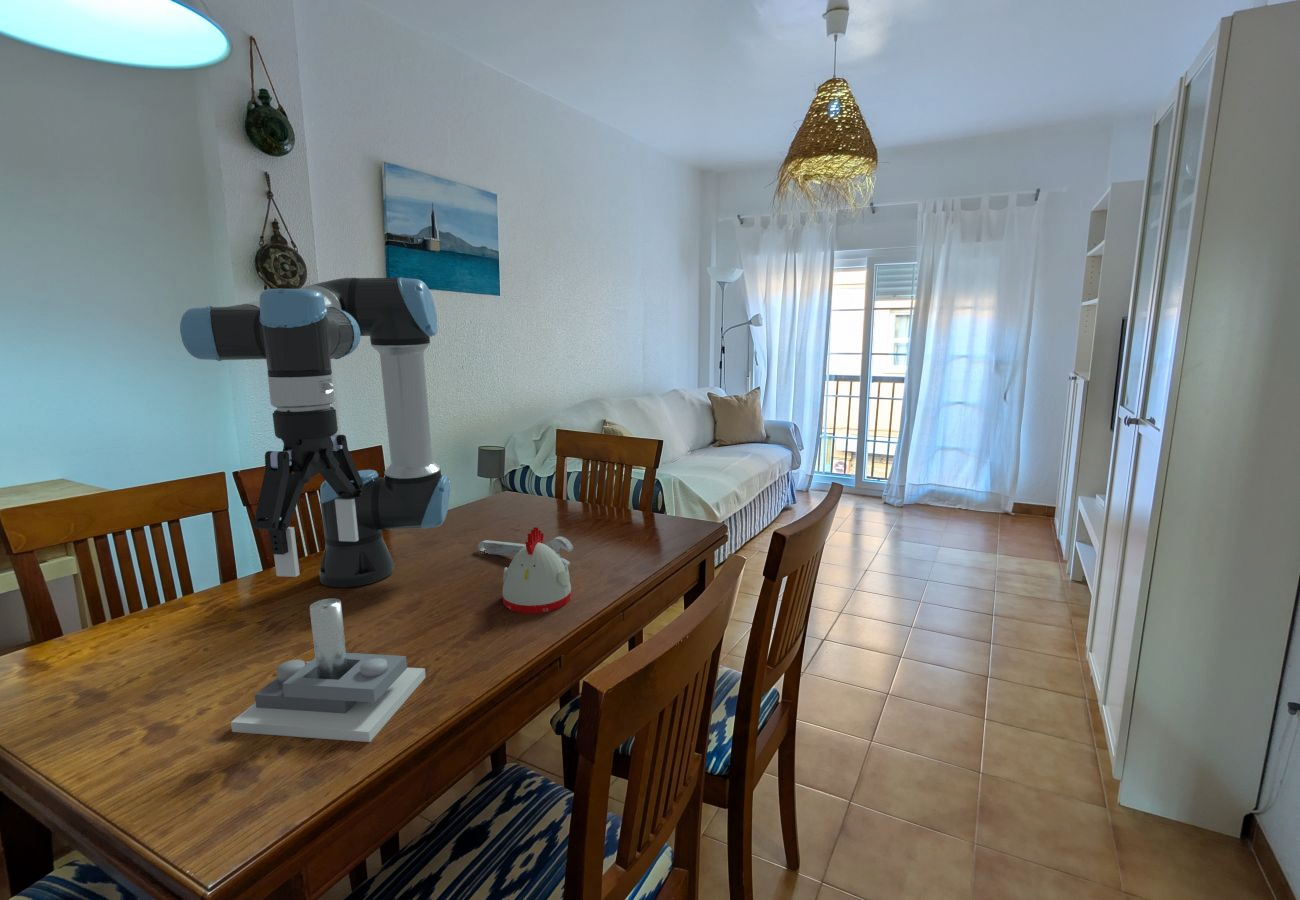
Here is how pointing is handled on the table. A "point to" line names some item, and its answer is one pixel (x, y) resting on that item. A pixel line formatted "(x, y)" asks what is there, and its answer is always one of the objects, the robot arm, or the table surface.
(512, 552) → the wrench
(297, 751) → the table surface
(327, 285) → the robot arm
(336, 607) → the pin
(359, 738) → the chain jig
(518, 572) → the kitchen timer
